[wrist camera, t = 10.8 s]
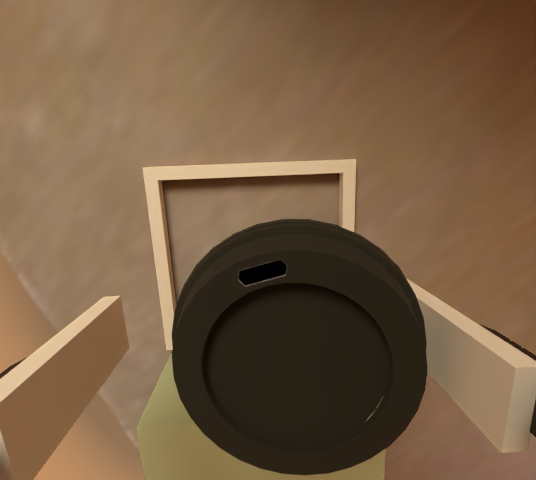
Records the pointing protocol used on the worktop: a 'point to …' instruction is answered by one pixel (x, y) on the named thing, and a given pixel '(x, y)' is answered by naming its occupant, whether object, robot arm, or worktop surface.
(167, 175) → the green block with frame
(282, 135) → the worktop surface
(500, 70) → the worktop surface
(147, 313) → the worktop surface
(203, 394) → the coffee cup
